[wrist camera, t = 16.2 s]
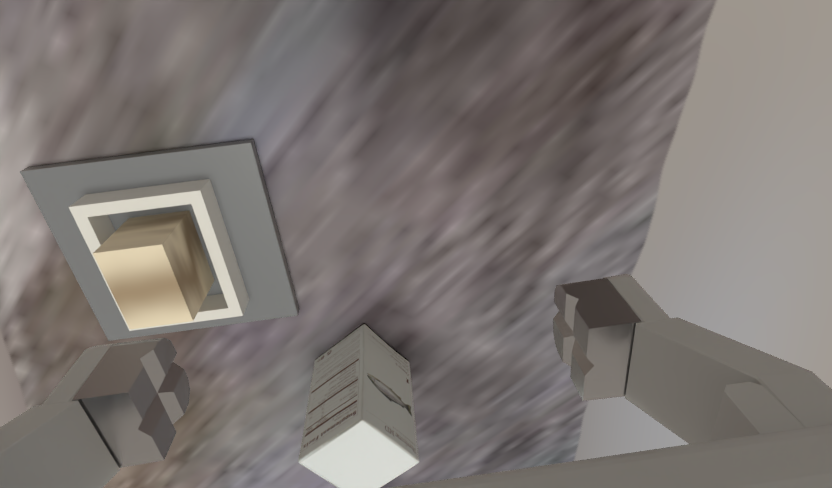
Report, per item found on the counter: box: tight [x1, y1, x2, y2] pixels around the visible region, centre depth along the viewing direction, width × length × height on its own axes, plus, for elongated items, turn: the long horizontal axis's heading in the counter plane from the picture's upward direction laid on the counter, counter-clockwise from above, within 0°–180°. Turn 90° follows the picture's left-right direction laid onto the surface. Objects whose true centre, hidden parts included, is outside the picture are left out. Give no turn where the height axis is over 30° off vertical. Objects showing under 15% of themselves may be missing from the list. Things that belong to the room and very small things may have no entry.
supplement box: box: [298, 324, 419, 488], centre depth 45 cm, size 7×7×13 cm
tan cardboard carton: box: [93, 210, 214, 329], centre depth 39 cm, size 7×5×6 cm
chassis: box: [20, 139, 299, 341], centre depth 41 cm, size 17×18×4 cm
